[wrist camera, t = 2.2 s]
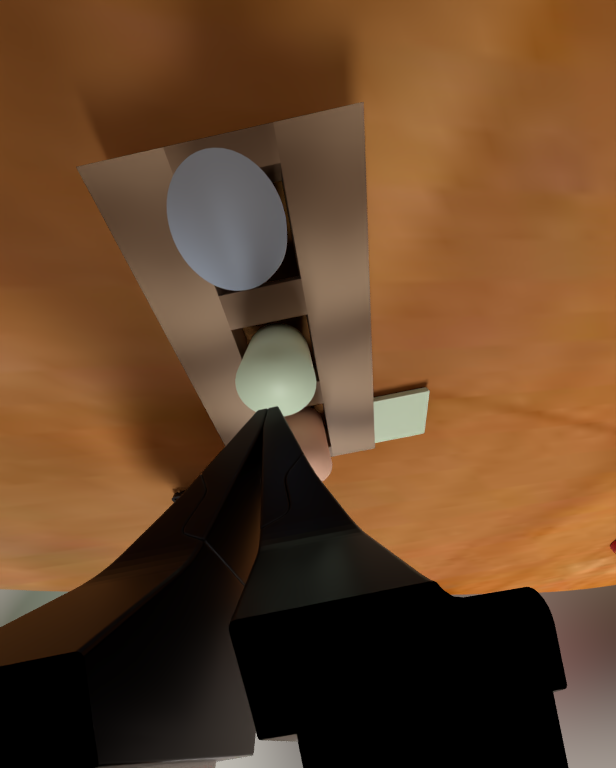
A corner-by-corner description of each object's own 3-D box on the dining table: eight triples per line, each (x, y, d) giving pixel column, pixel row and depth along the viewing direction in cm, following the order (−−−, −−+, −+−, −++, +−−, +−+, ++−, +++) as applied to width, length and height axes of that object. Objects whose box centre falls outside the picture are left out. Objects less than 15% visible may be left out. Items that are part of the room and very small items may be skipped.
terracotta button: (325, 437, 19) (335, 482, 15) (280, 446, 19) (279, 492, 15) (318, 401, 17) (327, 441, 13) (268, 411, 17) (263, 454, 13)
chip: (420, 429, 22) (424, 433, 21) (371, 438, 22) (373, 443, 21) (425, 387, 19) (429, 390, 19) (369, 398, 19) (372, 402, 19)
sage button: (313, 372, 16) (321, 409, 12) (259, 384, 16) (250, 423, 12) (302, 317, 13) (308, 339, 10) (240, 330, 14) (222, 357, 10)
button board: (365, 428, 21) (375, 448, 19) (245, 452, 21) (240, 474, 19) (348, 133, 11) (363, 101, 9) (117, 184, 11) (76, 167, 9)
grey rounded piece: (294, 273, 12) (297, 279, 9) (225, 287, 12) (198, 300, 9) (276, 179, 10) (269, 134, 6) (193, 197, 10) (141, 163, 7)
